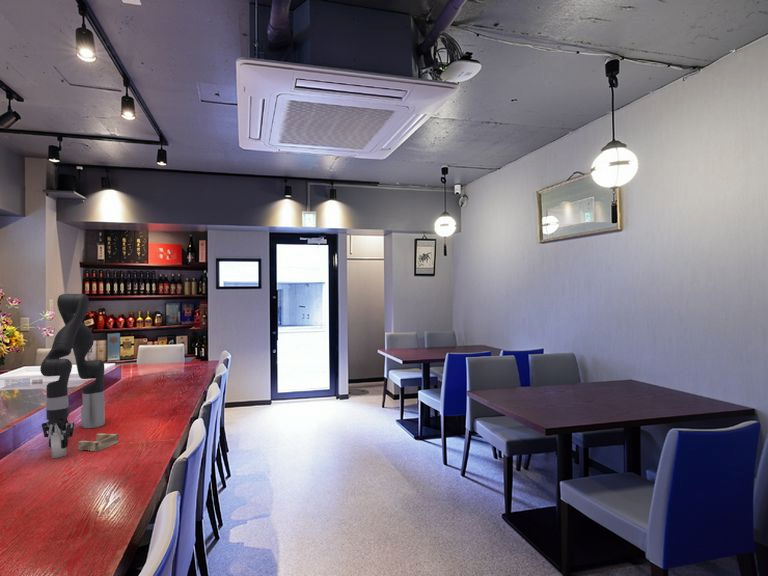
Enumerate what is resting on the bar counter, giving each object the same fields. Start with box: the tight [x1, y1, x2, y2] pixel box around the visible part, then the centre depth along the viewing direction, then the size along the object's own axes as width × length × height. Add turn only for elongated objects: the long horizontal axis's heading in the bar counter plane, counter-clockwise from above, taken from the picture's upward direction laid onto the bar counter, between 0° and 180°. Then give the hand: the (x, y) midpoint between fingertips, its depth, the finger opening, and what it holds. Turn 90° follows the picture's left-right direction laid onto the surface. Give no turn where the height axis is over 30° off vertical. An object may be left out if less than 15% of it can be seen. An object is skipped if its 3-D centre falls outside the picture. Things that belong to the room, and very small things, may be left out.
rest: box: [77, 433, 119, 452], centre depth 196 cm, size 10×11×4 cm
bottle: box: [50, 423, 67, 459], centre depth 185 cm, size 5×5×14 cm
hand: (58, 447), depth 185 cm, fingers closed on bottle, 5 cm apart
